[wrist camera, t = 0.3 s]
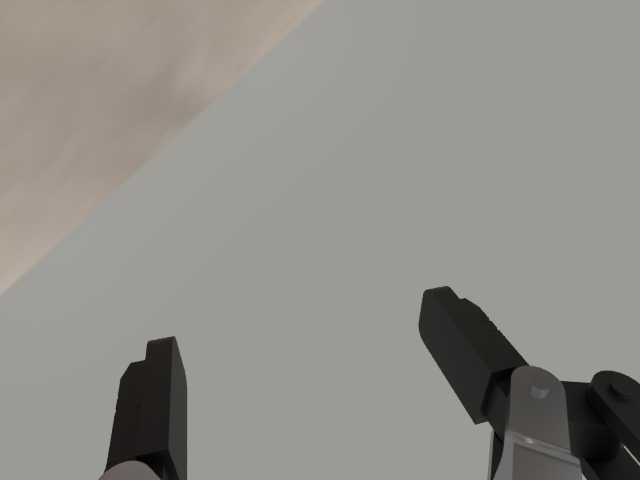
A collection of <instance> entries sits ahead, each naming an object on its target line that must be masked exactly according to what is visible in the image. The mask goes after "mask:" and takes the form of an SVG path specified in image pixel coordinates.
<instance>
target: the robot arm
mask: <svg viewBox="0 0 640 480" xmlns="http://www.w3.org/2000/svg"><path fill="white" fill-rule="evenodd" d="M419 332H420V336H421V338H422V340H423V342H424V344H425V345H426V347H427V349H428V350H429V352H430V353H431V355H432V357H433V358H434V360H435V361H436V363H437V365H438V366H439V368H440V369H441V371H442V373H443V374H444V376H445V377H446V379H447V380H448V382H449V384H450V385H451V387H452V388H453V390H454V392H455V393H456V394H457V396H458V398H459V400H460V401H461V403H462V404H463V406H464V408H465V409H466V411H467V412H468V414H469V415H470V417H471V419H472V420H473V422H474V423H475V425H476V424H480V423H483V422H487V421H488V422H489V423H490V425H491V426H492V428H493V429H492V432H491V441H490V453H489V465H488V477H487V480H582V474H583V475H584V476H585V478H586V479H587V480H640V466H639V465H638V463H637V462H636V461H635V460H634V459H633V458H632V457H631V455H630V454H629V453H628V452H627V450H626V449H625V448H624V446H626V447H627V449H628V450H629V451H630V452H631V453H632V455H633V456H634V457H635V458H636V459H637V460H638V462H640V384H639V383H638V382H637V381H635V380H634V379H632V378H630V377H629V376H626V375H624V374H622V373H619V372H615V371H600V372H598V373H596V374H595V375H594V377H593V379H592V381H591V382H590V383H582V382H568V381H559V379H558V378H556V377H555V376H554V375H553V374H551V373H550V372H548V371H547V370H544V369H542V368H539V367H535V366H530V365H529V364H528V363H527V362H526V361H525V360H524V359H523V357H522V356H521V355H520V354H519V353H518V352H517V350H516V349H515V348H514V347H513V346H512V345H511V344H510V342H509V341H508V340H507V339H506V338H505V336H504V335H503V334H502V333H501V332H500V331H499V330H497V327H496V326H495V325H494V324H493V322H492V321H490V320H489V318H488V317H487V316H486V314H485V313H484V312H483V311H482V310H481V308H480V307H478V306H477V305H475V304H473V303H472V302H470V301H469V300H467V299H466V298H464V299H459V298H458V296H457V295H456V294H455V293H454V292H453V290H452V289H451V288H450V287H448V286H444V287H438V288H433V289H428V290H425V292H424V293H423V299H422V305H421V312H420V318H419ZM99 480H187V382H186V375H185V370H184V367H183V363H182V359H181V356H180V352H179V348H178V345H177V341H176V338H175V337H174V336H173V337H167V338H162V339H157V340H152V341H148V343H147V350H146V358H145V360H143V361H138V362H134V363H130V365H129V367H128V368H127V370H126V371H125V373H124V374H123V376H122V378H121V380H120V386H119V392H118V399H117V404H116V413H115V416H114V423H113V429H112V435H111V441H110V447H109V453H108V459H107V465H106V468H105V471H104V474H103V475H102V476H101V477H100V478H99Z"/></svg>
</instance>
